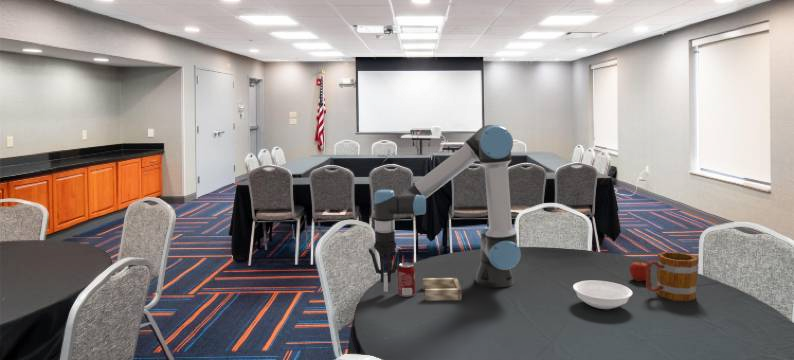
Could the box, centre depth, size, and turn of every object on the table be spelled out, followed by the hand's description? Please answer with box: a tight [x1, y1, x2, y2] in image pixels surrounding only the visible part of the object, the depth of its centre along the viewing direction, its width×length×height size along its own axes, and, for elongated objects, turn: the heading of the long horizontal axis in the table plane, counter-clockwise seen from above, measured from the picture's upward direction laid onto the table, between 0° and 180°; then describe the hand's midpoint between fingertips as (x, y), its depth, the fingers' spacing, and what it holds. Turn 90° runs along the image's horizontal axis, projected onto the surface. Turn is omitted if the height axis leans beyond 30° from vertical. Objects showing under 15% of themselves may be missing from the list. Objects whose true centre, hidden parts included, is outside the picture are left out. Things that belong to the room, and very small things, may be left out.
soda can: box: [396, 262, 416, 298], centre depth 196 cm, size 7×7×12 cm
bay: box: [422, 277, 463, 302], centre depth 197 cm, size 14×14×4 cm
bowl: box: [572, 279, 633, 310], centre depth 183 cm, size 20×20×6 cm
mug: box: [645, 251, 699, 302], centre depth 192 cm, size 20×14×15 cm
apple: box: [629, 261, 652, 282], centre depth 210 cm, size 8×8×8 cm
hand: (385, 290), depth 197 cm, fingers closed
